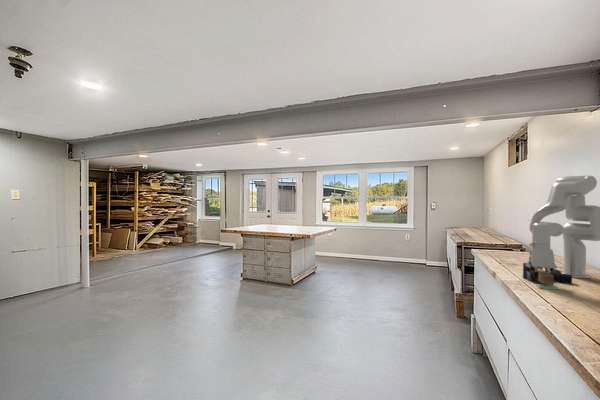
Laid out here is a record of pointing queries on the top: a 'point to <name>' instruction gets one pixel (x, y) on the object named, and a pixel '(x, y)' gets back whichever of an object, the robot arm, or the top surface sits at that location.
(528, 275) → the grey metal bracket
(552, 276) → the walnut rail
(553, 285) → the pad
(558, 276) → the pipe connector
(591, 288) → the top surface
